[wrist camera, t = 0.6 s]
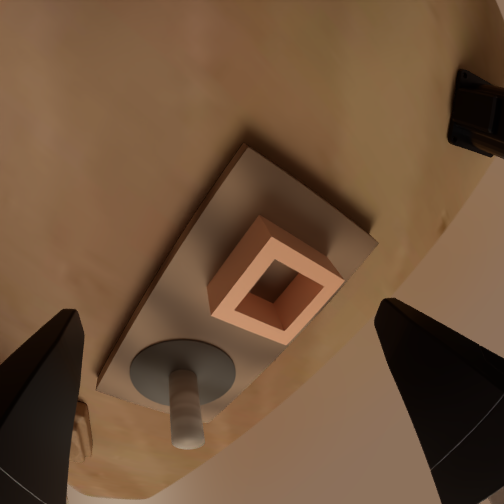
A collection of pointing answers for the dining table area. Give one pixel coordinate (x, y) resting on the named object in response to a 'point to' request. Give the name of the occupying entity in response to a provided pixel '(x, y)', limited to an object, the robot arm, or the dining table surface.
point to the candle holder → (81, 436)
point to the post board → (197, 304)
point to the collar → (252, 268)
